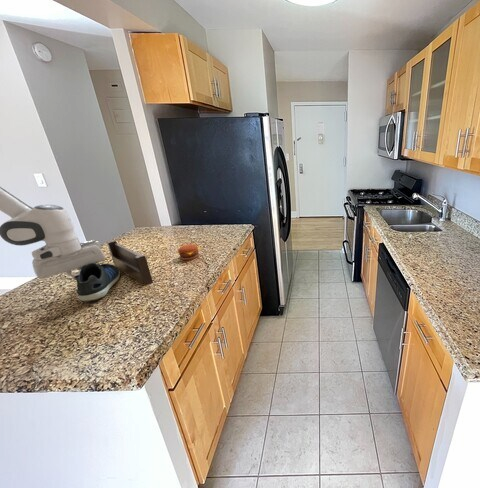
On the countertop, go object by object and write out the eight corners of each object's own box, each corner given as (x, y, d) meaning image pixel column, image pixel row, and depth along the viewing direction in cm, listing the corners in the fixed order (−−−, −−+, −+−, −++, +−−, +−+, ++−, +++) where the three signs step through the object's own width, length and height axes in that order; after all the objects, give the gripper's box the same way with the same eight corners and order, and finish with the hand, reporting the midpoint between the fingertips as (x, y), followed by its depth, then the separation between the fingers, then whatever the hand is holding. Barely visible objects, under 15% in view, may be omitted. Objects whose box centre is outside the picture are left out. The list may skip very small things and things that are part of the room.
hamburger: (187, 252, 143) (185, 241, 140) (203, 254, 141) (201, 242, 139) (175, 260, 134) (172, 248, 132) (191, 261, 132) (189, 249, 130)
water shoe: (123, 269, 125) (118, 246, 121) (113, 300, 101) (105, 273, 97) (95, 273, 120) (88, 250, 116) (77, 306, 96) (68, 279, 92)
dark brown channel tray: (145, 285, 111) (136, 258, 106) (115, 266, 128) (106, 242, 123) (153, 282, 113) (145, 255, 108) (122, 264, 130) (114, 240, 125)
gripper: (95, 237, 109) (106, 266, 114) (25, 253, 93) (41, 287, 98) (101, 240, 105) (111, 270, 110) (29, 258, 90) (45, 292, 95)
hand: (78, 278), depth 104 cm, fingers closed
